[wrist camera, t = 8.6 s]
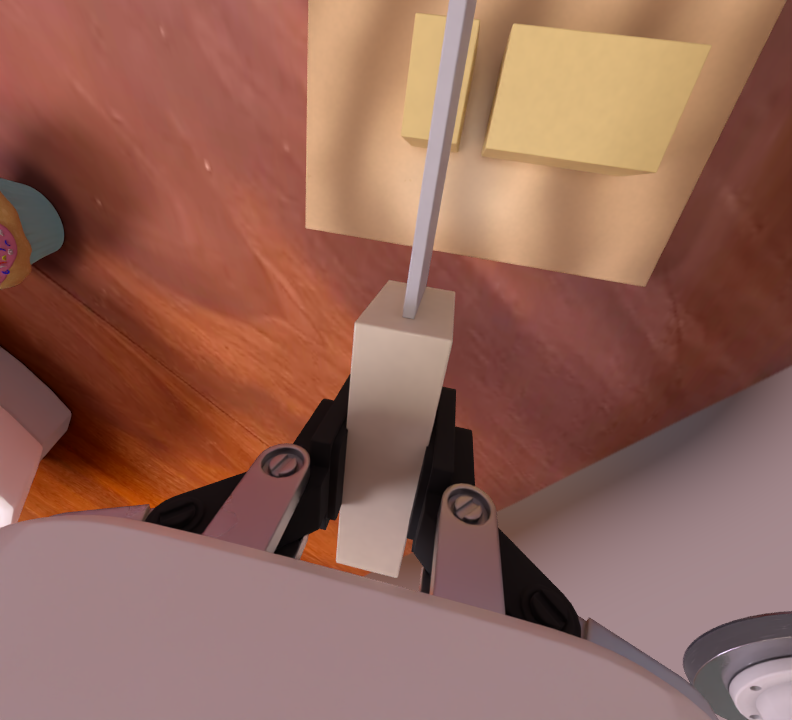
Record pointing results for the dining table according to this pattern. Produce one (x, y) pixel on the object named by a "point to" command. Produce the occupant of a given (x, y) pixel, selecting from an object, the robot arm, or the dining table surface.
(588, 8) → the board
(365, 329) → the knife
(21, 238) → the cupcake
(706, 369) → the dining table surface
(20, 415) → the bowl
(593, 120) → the butter
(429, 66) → the butter slice
